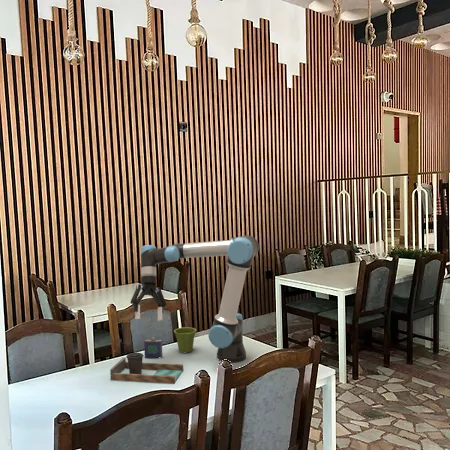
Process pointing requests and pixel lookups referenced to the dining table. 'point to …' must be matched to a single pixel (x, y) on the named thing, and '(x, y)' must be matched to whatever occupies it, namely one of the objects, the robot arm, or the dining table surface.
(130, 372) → the coffee cup
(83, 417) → the dining table surface
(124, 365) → the tray
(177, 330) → the plant pot
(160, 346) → the flask
